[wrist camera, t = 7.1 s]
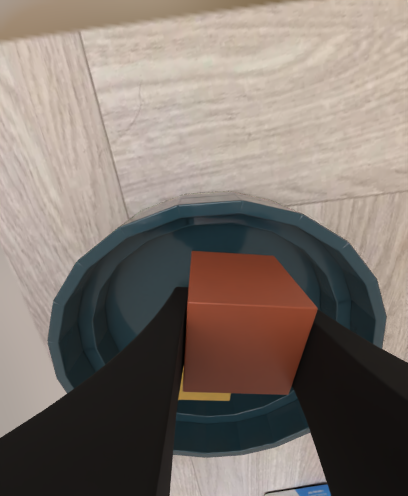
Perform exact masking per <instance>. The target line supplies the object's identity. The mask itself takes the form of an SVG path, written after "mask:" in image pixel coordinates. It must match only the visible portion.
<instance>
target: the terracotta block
mask: <svg viewBox="0 0 408 496" xmlns="http://www.w3.org/2000/svg"><path fill="white" fill-rule="evenodd" d="M317 310H318V308H317V307H316V305H315V304H314V303H313V302H312V301H311V300H310V298H309V297H308V296H307V295H306V294H305V292H304V291H303V290H302V289H301V288H300V286H299V285H298V284H297V283H296V282H295V280H294V279H293V278H292V277H291V276H290V275H289V273H288V272H287V271H286V270H285V269H284V267H283V266H282V265H281V264H280V263H279V261H278V260H277V259H276V258H275V257H274V256H270V255H253V254H237V253H220V252H204V251H192V252H191V265H190V277H189V289H188V301H187V318H186V336H185V355H184V373H183V392H202V393H241V394H280V395H288V394H289V392H290V389H291V386H292V383H293V380H294V377H295V374H296V371H297V368H298V365H299V362H300V360H301V357H302V354H303V351H304V348H305V345H306V342H307V339H308V336H309V333H310V330H311V327H312V324H313V322H314V319H315V316H316V313H317Z"/></svg>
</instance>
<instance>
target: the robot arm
mask: <svg viewBox="0 0 408 496" xmlns="http://www.w3.org/2000/svg"><path fill="white" fill-rule="evenodd" d="M188 289H189V287H176V288H174V290H173V292H172V294H171V295H170V297H169V298H168V300H167V301H166V303H165V304H164V305H163V307H162V308H161V309H160V310H159V312H158V313H157V314H156V315H155V317H154V318H153V319H152V320H151V321H150V322H149V323H148V325H147V326H146V327H145V328H144V329H143V330H142V331H141V332H140V333H139V334H138V335H137V336H136V337H135V338H134V339H133V340H132V341H131V342H130V343H129V344H128V345H127V346H126V347H125V348H124V349H123V350H122V351H121V352H119V353H118V354H117V355H116V356H115V357H114V358H112V359H111V360H110V361H109V362H108V363H107V364H105V365H104V366H103V367H102V368H101V369H99V370H98V371H97V372H96V373H94V374H93V375H92V376H91V377H89V378H88V379H86V380H85V381H84V382H82V383H81V384H80V385H78V386H77V387H76V388H74V389H73V390H71V391H70V392H69V393H67V394H66V395H65V396H63V397H62V398H61V399H60V400H58V401H56V402H55V403H53V404H52V405H51V406H49V407H48V408H46V409H45V410H43V411H42V412H40V413H39V414H37V415H36V416H34V417H32V418H31V419H29V420H28V421H26V422H25V423H23V424H21V425H20V426H18V427H17V428H15V429H14V430H12V431H11V432H9V433H7V434H6V435H4V436H3V437H1V438H0V496H169V495H170V483H171V471H172V459H173V447H174V435H175V423H176V413H177V405H178V398H179V392H180V386H181V379H182V373H183V367H184V355H185V336H186V318H187V301H188ZM292 387H293V389H294V391H295V394H296V396H297V398H298V401H299V403H300V405H301V408H302V410H303V413H304V415H305V418H306V421H307V423H308V426H309V429H310V432H311V435H312V438H313V441H314V444H315V447H316V450H317V453H318V456H319V459H320V462H321V465H322V468H323V472H324V475H325V478H326V481H327V484H328V487H329V491H330V494H331V496H408V363H407V362H405V361H403V360H401V359H400V358H398V357H396V356H394V355H392V354H390V353H388V352H387V351H385V350H383V349H381V348H379V347H377V346H376V345H374V344H372V343H370V342H369V341H367V340H365V339H364V338H362V337H361V336H359V335H357V334H356V333H354V332H352V331H351V330H349V329H347V328H346V327H344V326H343V325H341V324H340V323H338V322H337V321H335V320H333V319H332V318H330V317H329V316H327V315H326V314H324V313H323V312H321V311H320V310H317V313H316V316H315V319H314V322H313V324H312V327H311V330H310V333H309V336H308V339H307V342H306V345H305V348H304V351H303V354H302V357H301V360H300V362H299V365H298V368H297V371H296V374H295V377H294V380H293V383H292Z"/></svg>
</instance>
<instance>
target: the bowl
mask: <svg viewBox="0 0 408 496" xmlns="http://www.w3.org/2000/svg"><path fill="white" fill-rule="evenodd" d="M192 251H204V252H220V253H237V254H253V255H270V256H274V257H275V258H276V259H277V260H278V261H279V263H280V264H281V265H282V266H283V267H284V269H285V270H286V271H287V272H288V273H289V275H290V276H291V277H292V278H293V279H294V280H295V282H296V283H297V284H298V285H299V286H300V288H301V289H302V290H303V291H304V292H305V294H306V295H307V296H308V297H309V298H310V300H311V301H312V302H313V303H314V304H315V305H316V307H317V308H318V310H320V311H321V312H323V313H324V314H326V315H327V316H329V317H330V318H332V319H333V320H335V321H337V322H338V323H340V324H341V325H343V326H344V327H346V328H347V329H349V330H351V331H352V332H354V333H356V334H357V335H359V336H361V337H362V338H364V339H365V340H367V341H369V342H370V343H372V344H374V345H376V346H377V347H379V348H381V349H382V347H383V340H384V333H385V326H386V319H387V318H386V317H387V316H386V312H385V308H384V304H383V301H382V297H381V293H380V289H379V285H378V281H377V279H376V277H375V276H374V274H373V273H372V272H371V270H370V269H369V268H368V267H367V265H366V264H365V263H364V261H363V260H362V259H361V257H360V256H359V255H358V254H357V252H356V251H355V250H354V248H353V247H352V246H351V244H350V243H349V242H348V241H347V240H345V239H343V238H342V237H340V236H338V235H337V234H335V233H333V232H332V231H330V230H329V229H327V228H325V227H324V226H322V225H320V224H319V223H317V222H315V221H314V220H312V219H311V218H309V217H307V216H306V215H304V214H302V213H300V212H297V211H295V210H293V209H290V208H288V207H286V206H283V205H281V204H279V203H276V202H274V201H271V200H267V199H263V198H258V197H254V196H250V195H245V194H241V193H237V192H232V191H221V192H207V193H193V194H184V195H180V196H178V197H175V198H172V199H170V200H167V201H165V202H162V203H159V204H157V205H154V206H152V207H149V208H146V209H144V210H142V211H140V212H139V213H137V214H136V215H135V216H133V217H132V218H131V219H129V220H128V221H127V222H125V223H124V224H122V225H121V226H120V227H118V228H117V229H116V230H115V231H113V232H112V233H111V234H110V235H109V236H107V237H106V238H105V239H104V240H102V241H101V242H100V243H99V244H97V245H96V246H95V247H94V248H92V249H91V250H90V251H89V252H87V253H86V254H85V255H84V256H82V257H81V258H80V259H79V260H78V261H77V262H76V263H75V265H74V267H73V268H72V270H71V272H70V274H69V275H68V277H67V279H66V280H65V282H64V284H63V285H62V287H61V289H60V290H59V292H58V294H57V295H56V297H55V299H54V302H53V305H52V312H51V319H50V326H49V333H48V340H47V341H48V346H49V350H50V354H51V358H52V362H53V366H54V370H55V374H56V377H57V379H58V381H59V382H60V384H61V385H62V386H63V388H64V389H65V391H66V392H67V393H69V392H70V391H71V390H73V389H74V388H76V387H77V386H78V385H80V384H81V383H82V382H84V381H85V380H86V379H88V378H89V377H91V376H92V375H93V374H94V373H96V372H97V371H98V370H99V369H101V368H102V367H103V366H104V365H105V364H107V363H108V362H109V361H110V360H111V359H112V358H114V357H115V356H116V355H117V354H118V353H119V352H121V351H122V350H123V349H124V348H125V347H126V346H127V345H128V344H129V343H130V342H131V341H132V340H133V339H134V338H135V337H136V336H137V335H138V334H139V333H140V332H141V331H142V330H143V329H144V328H145V327H146V326H147V325H148V323H149V322H150V321H151V320H152V319H153V318H154V317H155V315H156V314H157V313H158V312H159V310H160V309H161V308H162V307H163V305H164V304H165V303H166V301H167V300H168V298H169V297H170V295H171V294H172V292H173V290H174V288H176V287H189V277H190V265H191V252H192ZM308 433H310V429H309V426H308V423H307V421H306V418H305V415H304V413H303V410H302V408H301V405H300V403H299V401H298V398H297V396H296V394H295V391H294V389H293V387H292V386H291V389H290V392H289V394H288V395H280V394H241V393H231V395H230V400H229V401H215V400H178V405H177V413H176V423H175V435H174V447H173V455H183V456H194V457H207V458H208V457H222V456H236V455H245V454H249V453H253V452H258V451H262V450H266V449H270V448H274V447H277V446H280V445H282V444H285V443H287V442H289V441H292V440H294V439H296V438H299V437H301V436H303V435H306V434H308Z"/></svg>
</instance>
